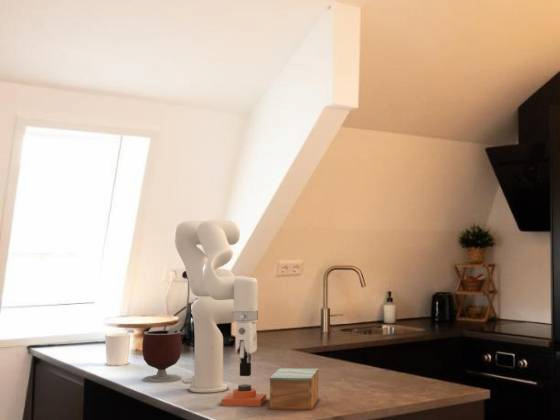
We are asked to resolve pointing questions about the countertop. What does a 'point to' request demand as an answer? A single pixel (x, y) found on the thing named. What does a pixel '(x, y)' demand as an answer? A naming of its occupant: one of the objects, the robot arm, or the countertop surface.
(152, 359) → the mate gourd
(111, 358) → the candle holder
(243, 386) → the button
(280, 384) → the wooden box
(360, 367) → the countertop surface
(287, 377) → the green box lid
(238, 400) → the button block
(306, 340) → the countertop surface
